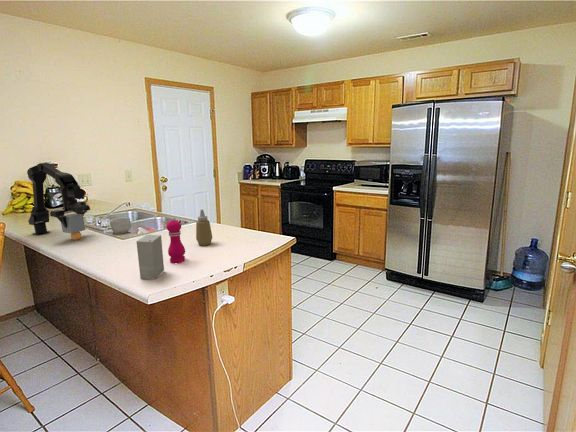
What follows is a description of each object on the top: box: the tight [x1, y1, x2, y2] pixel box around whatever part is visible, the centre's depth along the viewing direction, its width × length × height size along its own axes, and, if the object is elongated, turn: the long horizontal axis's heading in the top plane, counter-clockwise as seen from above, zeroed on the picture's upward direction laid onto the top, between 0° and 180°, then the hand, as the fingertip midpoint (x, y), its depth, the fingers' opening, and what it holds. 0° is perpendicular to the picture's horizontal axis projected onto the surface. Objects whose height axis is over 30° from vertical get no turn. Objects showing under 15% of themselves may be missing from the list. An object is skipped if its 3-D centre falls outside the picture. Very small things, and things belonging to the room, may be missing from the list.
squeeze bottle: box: [195, 209, 213, 247], centre depth 171 cm, size 8×8×18 cm
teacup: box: [109, 216, 132, 235], centre depth 200 cm, size 14×11×8 cm
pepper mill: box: [166, 216, 186, 265], centre depth 148 cm, size 7×7×20 cm
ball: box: [70, 231, 82, 241], centre depth 187 cm, size 5×5×5 cm
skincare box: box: [136, 234, 165, 280], centre depth 133 cm, size 8×7×16 cm
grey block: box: [60, 212, 86, 235], centre depth 186 cm, size 8×8×9 cm
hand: (73, 226), depth 186 cm, fingers closed on grey block, 8 cm apart
